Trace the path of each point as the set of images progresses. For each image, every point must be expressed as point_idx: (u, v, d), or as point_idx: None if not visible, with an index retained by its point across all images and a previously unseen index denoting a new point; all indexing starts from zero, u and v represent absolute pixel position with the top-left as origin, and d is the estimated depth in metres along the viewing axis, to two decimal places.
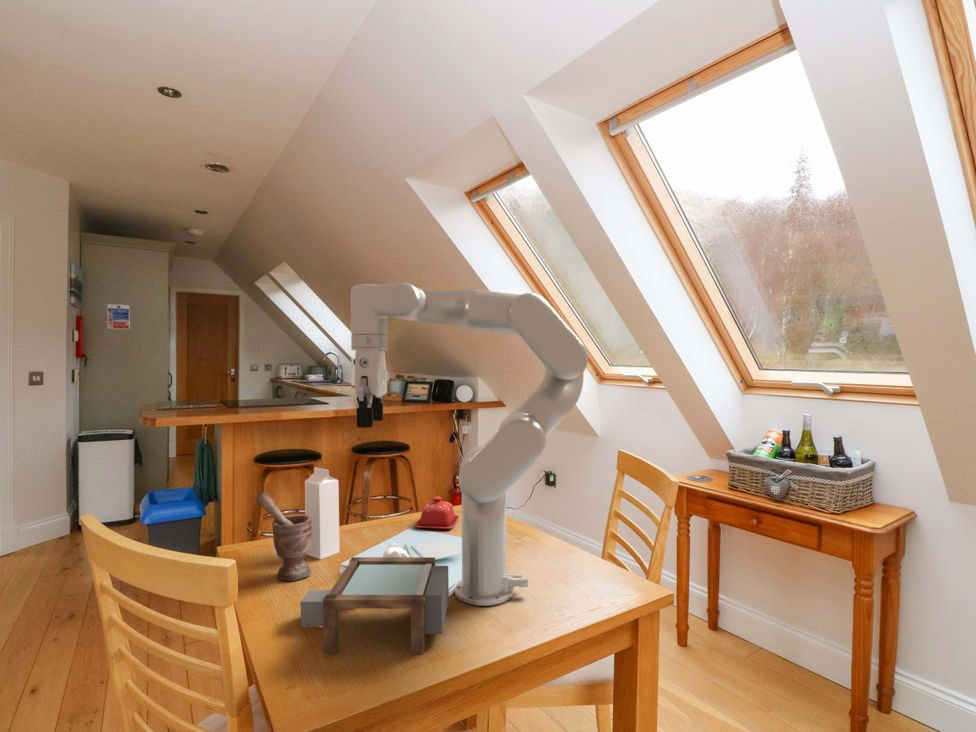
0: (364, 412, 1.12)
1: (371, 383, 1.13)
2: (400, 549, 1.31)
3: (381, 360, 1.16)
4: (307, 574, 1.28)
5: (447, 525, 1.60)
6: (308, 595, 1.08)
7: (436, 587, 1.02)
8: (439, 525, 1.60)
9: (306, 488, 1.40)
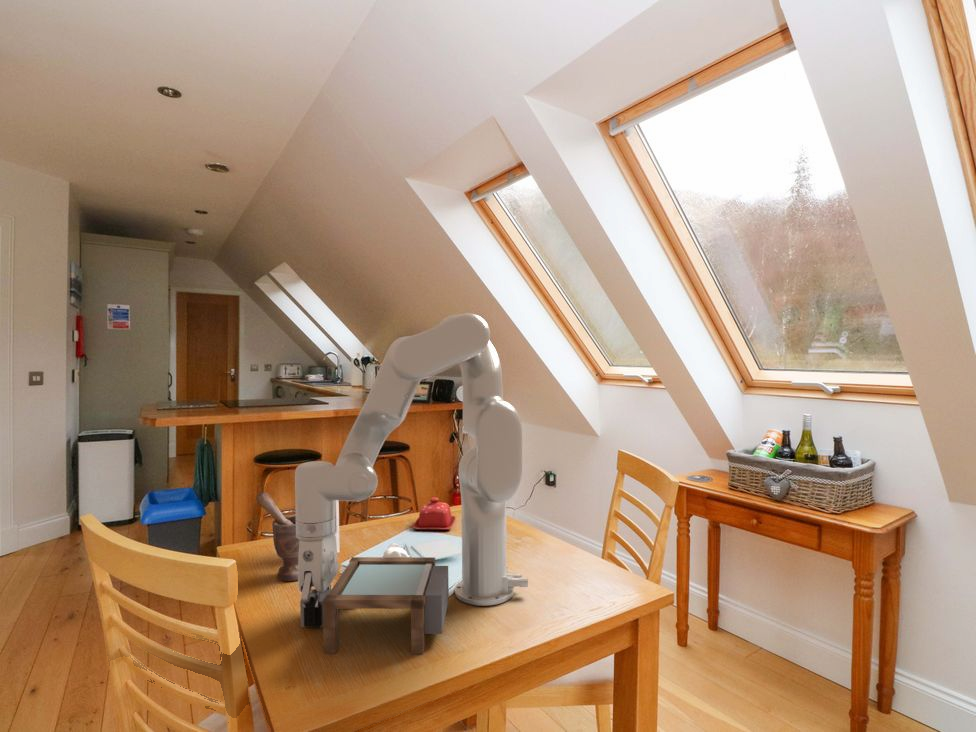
0: (312, 612, 1.04)
1: (316, 579, 1.02)
2: (400, 549, 1.31)
3: (328, 547, 1.06)
4: None
5: (446, 526, 1.59)
6: None
7: (436, 587, 1.02)
8: (438, 526, 1.59)
9: None
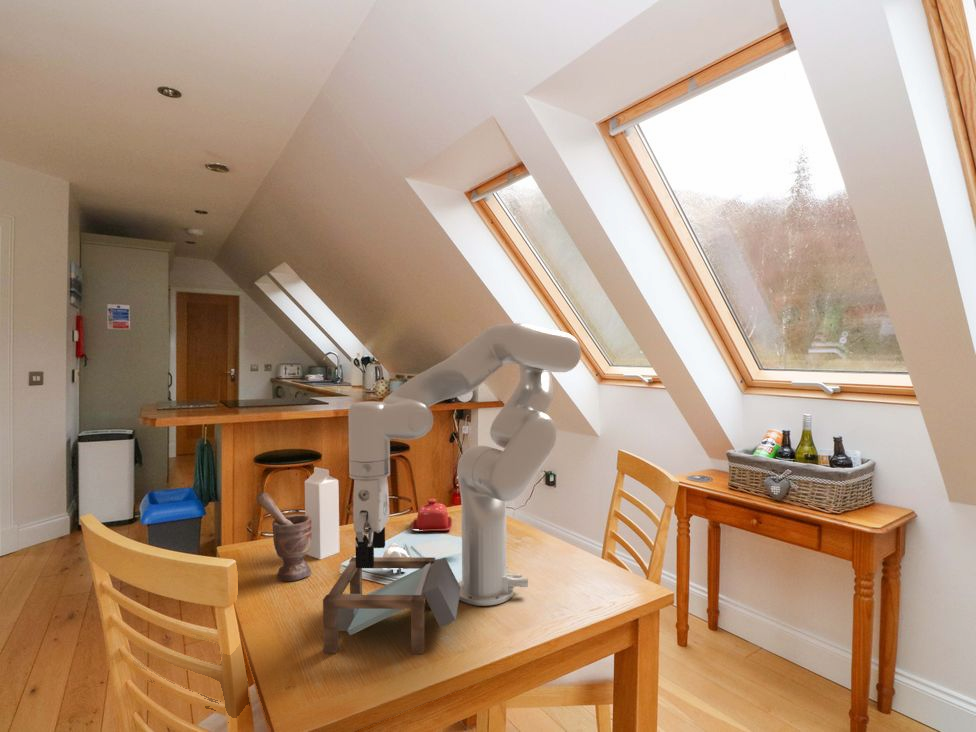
0: (364, 552, 0.99)
1: (372, 518, 1.00)
2: (400, 549, 1.31)
3: (383, 488, 1.03)
4: (307, 574, 1.28)
5: (445, 527, 1.58)
6: None
7: (433, 580, 1.02)
8: (437, 527, 1.58)
9: (306, 488, 1.40)
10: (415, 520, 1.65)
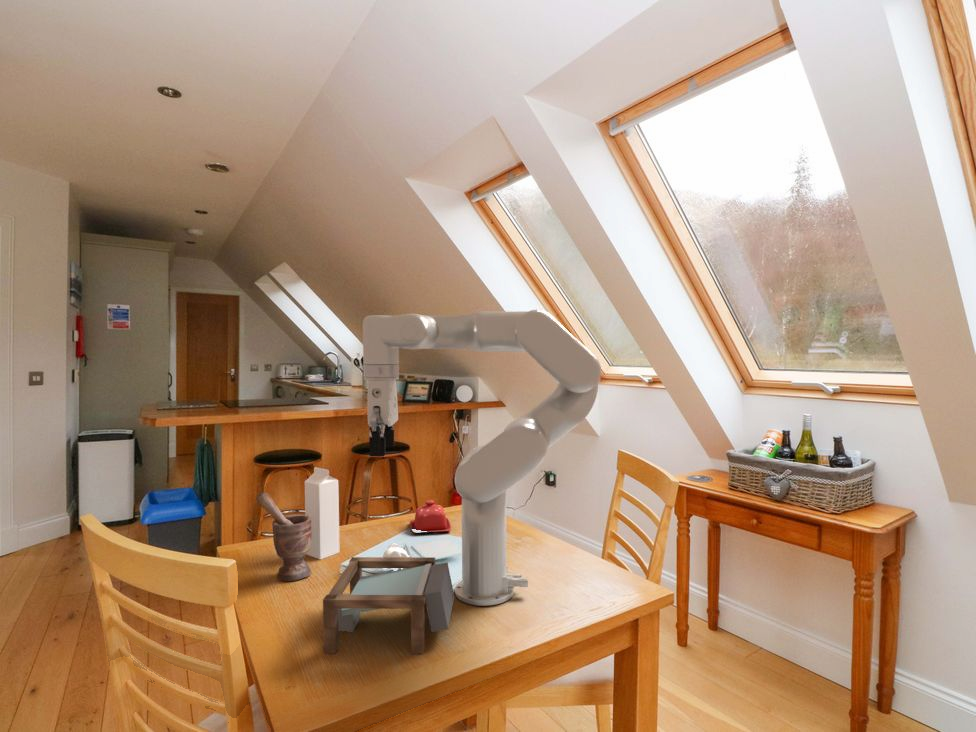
0: (377, 441, 1.14)
1: (383, 413, 1.15)
2: (400, 549, 1.31)
3: (393, 389, 1.18)
4: (307, 574, 1.28)
5: (445, 528, 1.58)
6: None
7: (435, 584, 1.02)
8: (437, 529, 1.57)
9: (306, 488, 1.40)
10: (412, 522, 1.63)
